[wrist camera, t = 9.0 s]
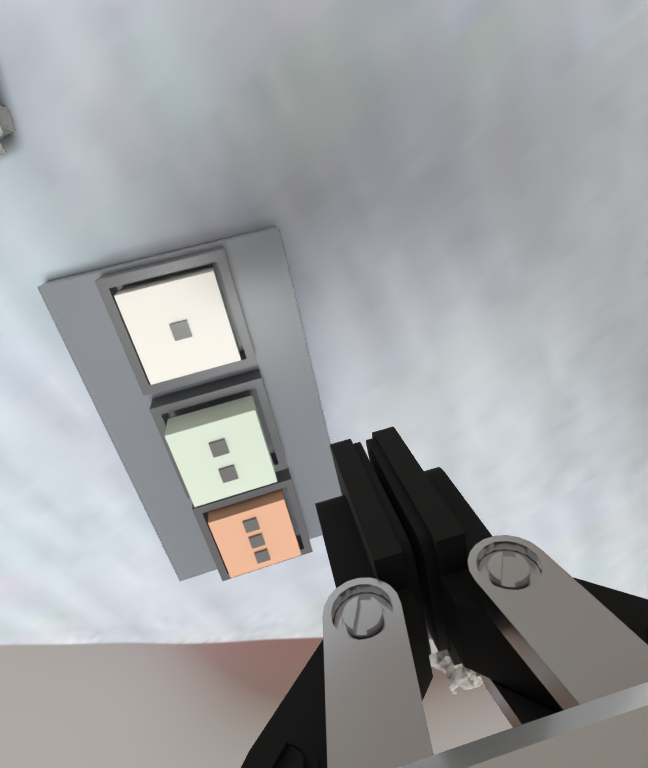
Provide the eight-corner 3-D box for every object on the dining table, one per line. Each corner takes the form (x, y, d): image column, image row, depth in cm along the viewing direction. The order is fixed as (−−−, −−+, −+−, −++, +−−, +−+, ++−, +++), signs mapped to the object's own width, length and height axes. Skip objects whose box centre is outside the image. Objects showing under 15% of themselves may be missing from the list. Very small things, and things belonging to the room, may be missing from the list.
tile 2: (252, 395, 27) (255, 411, 25) (273, 463, 29) (277, 483, 27) (168, 419, 26) (164, 438, 24) (195, 486, 29) (194, 509, 27)
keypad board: (275, 226, 27) (282, 231, 24) (344, 513, 36) (355, 539, 33) (46, 281, 25) (27, 293, 22) (181, 565, 35) (178, 598, 32)
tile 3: (280, 481, 31) (284, 501, 29) (296, 535, 34) (301, 557, 32) (208, 503, 31) (208, 525, 29) (230, 556, 33) (231, 580, 31)
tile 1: (213, 265, 25) (213, 271, 23) (239, 348, 27) (240, 361, 25) (121, 287, 24) (113, 296, 22) (155, 371, 27) (150, 386, 25)
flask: (357, 558, 38) (406, 682, 29) (381, 534, 38) (439, 652, 28) (426, 598, 42) (489, 719, 33) (448, 576, 42) (519, 693, 32)
